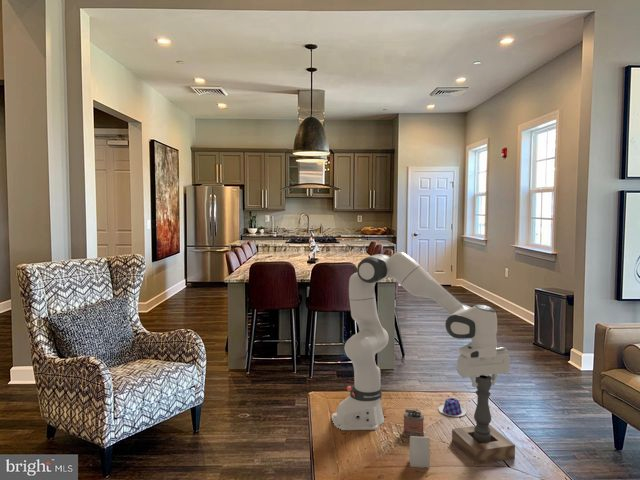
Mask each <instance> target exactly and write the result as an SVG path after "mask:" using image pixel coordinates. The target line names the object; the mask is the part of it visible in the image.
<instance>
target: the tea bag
mask: <svg viewBox="0 0 640 480" xmlns="http://www.w3.org/2000/svg"><path fill="white" fill-rule="evenodd" d="M430 442H431V441H430V436H428V437H427V436H412V435H409V467H413V468H414V467H415V468H424V467H427V469H430V468H431V460H430V459H431V449H430V446H431V445H430Z"/></svg>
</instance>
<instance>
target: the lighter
mask: <svg viewBox="0 0 640 480" xmlns="http://www.w3.org/2000/svg"><path fill="white" fill-rule="evenodd" d="M404 412H405V413H403V431H402V432H403V434H404V435H407V436H415V437H425V435H424V434H425V433H424V419H425V417H424V415H422V411H421V410H417V409H416V408H413V409H412V408H411V409H410V408H405V411H404Z"/></svg>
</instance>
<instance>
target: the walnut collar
mask: <svg viewBox="0 0 640 480" xmlns="http://www.w3.org/2000/svg"><path fill="white" fill-rule="evenodd" d="M475 426H476V425H471V426H465V427H463V426H462V427H455V428H452V429H451V434H452V435H451V441H452V443H453V444H454V445H455V446H456V447H457V448H458V449H459V450H460V451H461V452H462V453H463V454H464V455H465V456H466V457H467V458H468V459H469V460H470V461H471V462H472V463H473V464H474V465H480V464H481V465H482V464H488V463H493V462H500V461H505V460H507V461H508V460H513V459H515V458H516V444H515V443H513V442H512V441H511V440H509V438H507V437H506V436H504V435H503V434H502V433H501V432H500V431H498V430H497V429H496V428H495V427H493V426H492V425H490V424H489V426H488V427H489V428H490V433H491V442H487V443H480V444H479V443H478V442H477V441H476V440H475V439H474V430H475V429H474V428H475Z"/></svg>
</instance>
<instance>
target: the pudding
mask: <svg viewBox="0 0 640 480" xmlns="http://www.w3.org/2000/svg"><path fill="white" fill-rule="evenodd" d="M438 412H440V413H441V414H442V415H444V416H445V415H446V416H448V417H449V416H450V417H463V416H465V415H466V414H467V410H466V409H465V408H464V407H462V406H461V403H460V401H459V400H458V399H456V398H454V397H449V398H446V399H445V401H444V404H442V405H439V406H438Z"/></svg>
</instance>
